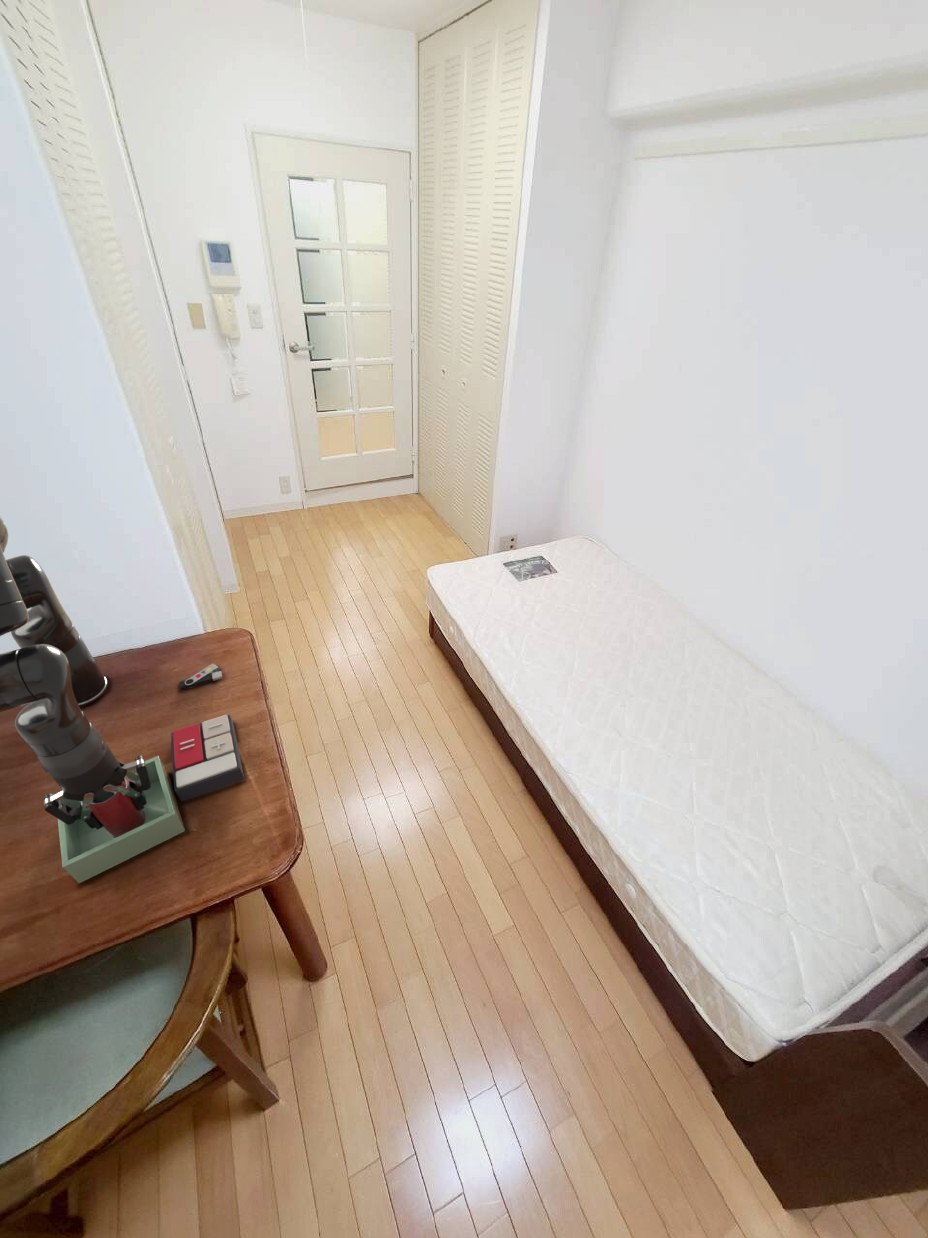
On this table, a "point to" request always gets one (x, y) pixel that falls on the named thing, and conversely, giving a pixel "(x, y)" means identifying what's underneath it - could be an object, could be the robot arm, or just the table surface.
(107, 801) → the can
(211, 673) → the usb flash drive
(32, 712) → the robot arm
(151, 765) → the open box
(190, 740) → the calculator
